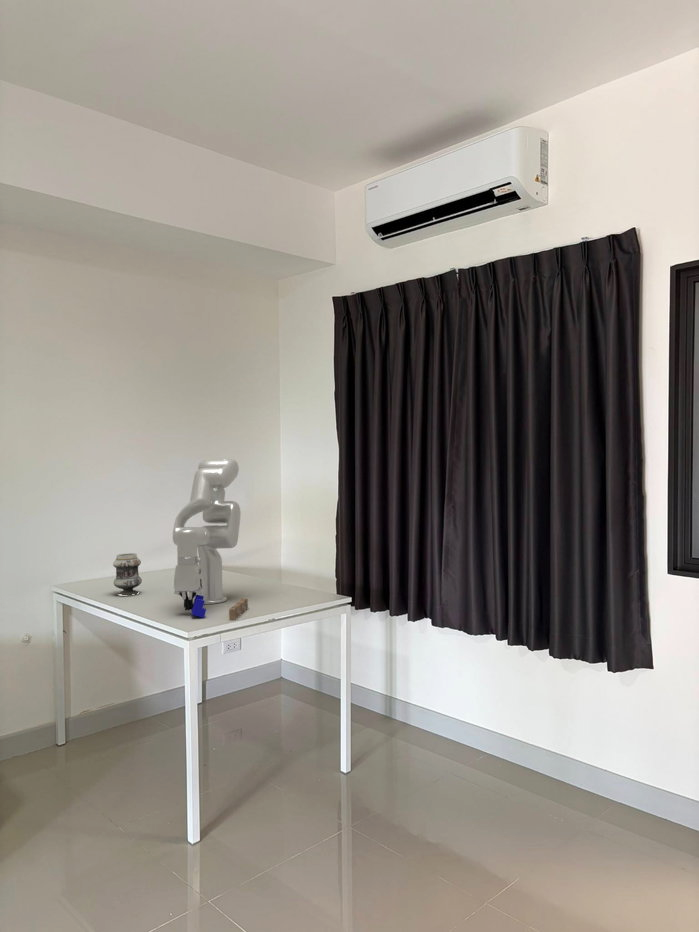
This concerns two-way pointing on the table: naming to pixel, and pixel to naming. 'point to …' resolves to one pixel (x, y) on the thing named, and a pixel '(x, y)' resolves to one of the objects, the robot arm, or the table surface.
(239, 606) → the walnut rail
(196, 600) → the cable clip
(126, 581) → the apothecary jar
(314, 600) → the table surface
